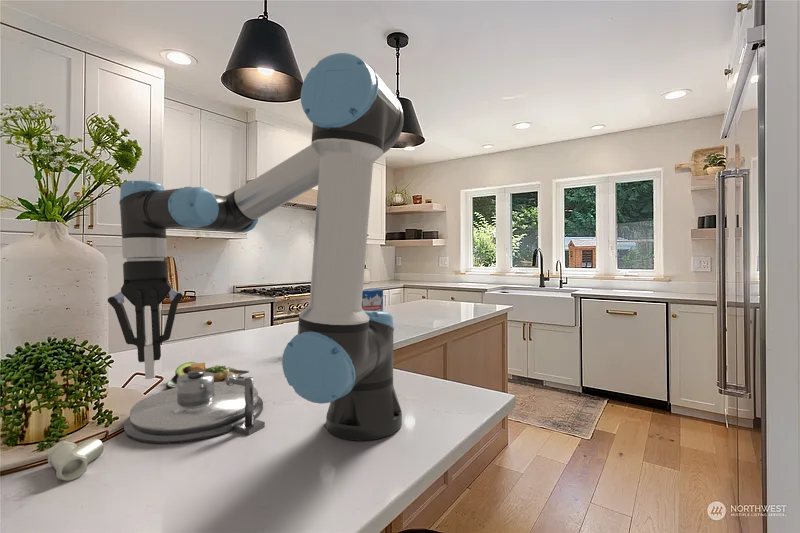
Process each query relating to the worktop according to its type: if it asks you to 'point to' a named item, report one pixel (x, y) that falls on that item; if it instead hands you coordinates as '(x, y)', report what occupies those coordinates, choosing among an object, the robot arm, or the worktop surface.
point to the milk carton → (372, 300)
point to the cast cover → (195, 388)
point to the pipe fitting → (73, 457)
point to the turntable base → (185, 437)
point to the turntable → (189, 410)
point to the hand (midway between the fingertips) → (150, 376)
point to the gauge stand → (246, 405)
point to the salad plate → (218, 371)
